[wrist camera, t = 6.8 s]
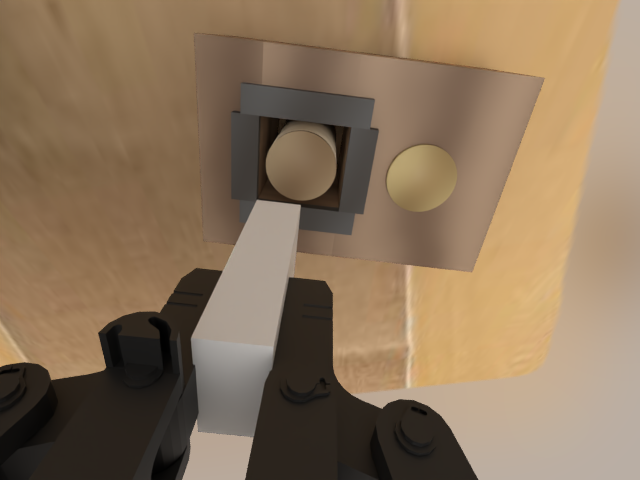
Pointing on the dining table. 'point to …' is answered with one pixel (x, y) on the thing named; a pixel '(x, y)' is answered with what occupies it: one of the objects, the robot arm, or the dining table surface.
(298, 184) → the oak peg
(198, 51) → the socket block
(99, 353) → the dining table surface
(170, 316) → the robot arm
